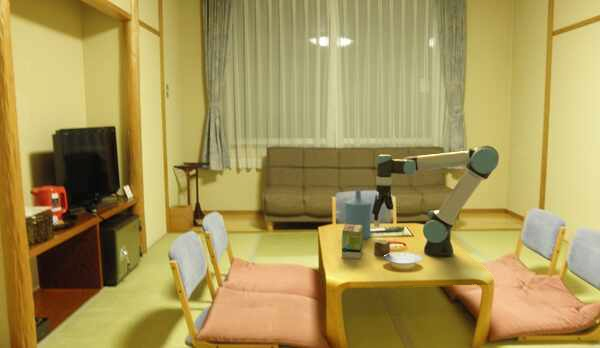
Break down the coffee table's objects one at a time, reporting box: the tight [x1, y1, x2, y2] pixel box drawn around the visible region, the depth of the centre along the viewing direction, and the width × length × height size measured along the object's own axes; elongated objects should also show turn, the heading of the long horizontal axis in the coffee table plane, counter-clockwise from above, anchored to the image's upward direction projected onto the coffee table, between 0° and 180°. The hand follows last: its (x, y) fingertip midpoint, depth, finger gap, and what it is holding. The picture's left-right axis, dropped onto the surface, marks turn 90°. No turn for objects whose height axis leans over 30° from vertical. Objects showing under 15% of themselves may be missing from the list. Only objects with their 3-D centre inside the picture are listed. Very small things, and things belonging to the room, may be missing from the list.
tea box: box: [341, 223, 364, 260], centre depth 259 cm, size 15×10×15 cm
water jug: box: [344, 189, 372, 240], centre depth 293 cm, size 16×16×28 cm
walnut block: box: [374, 239, 391, 257], centre depth 259 cm, size 6×6×7 cm
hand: (382, 223), depth 258 cm, fingers open, 13 cm apart
